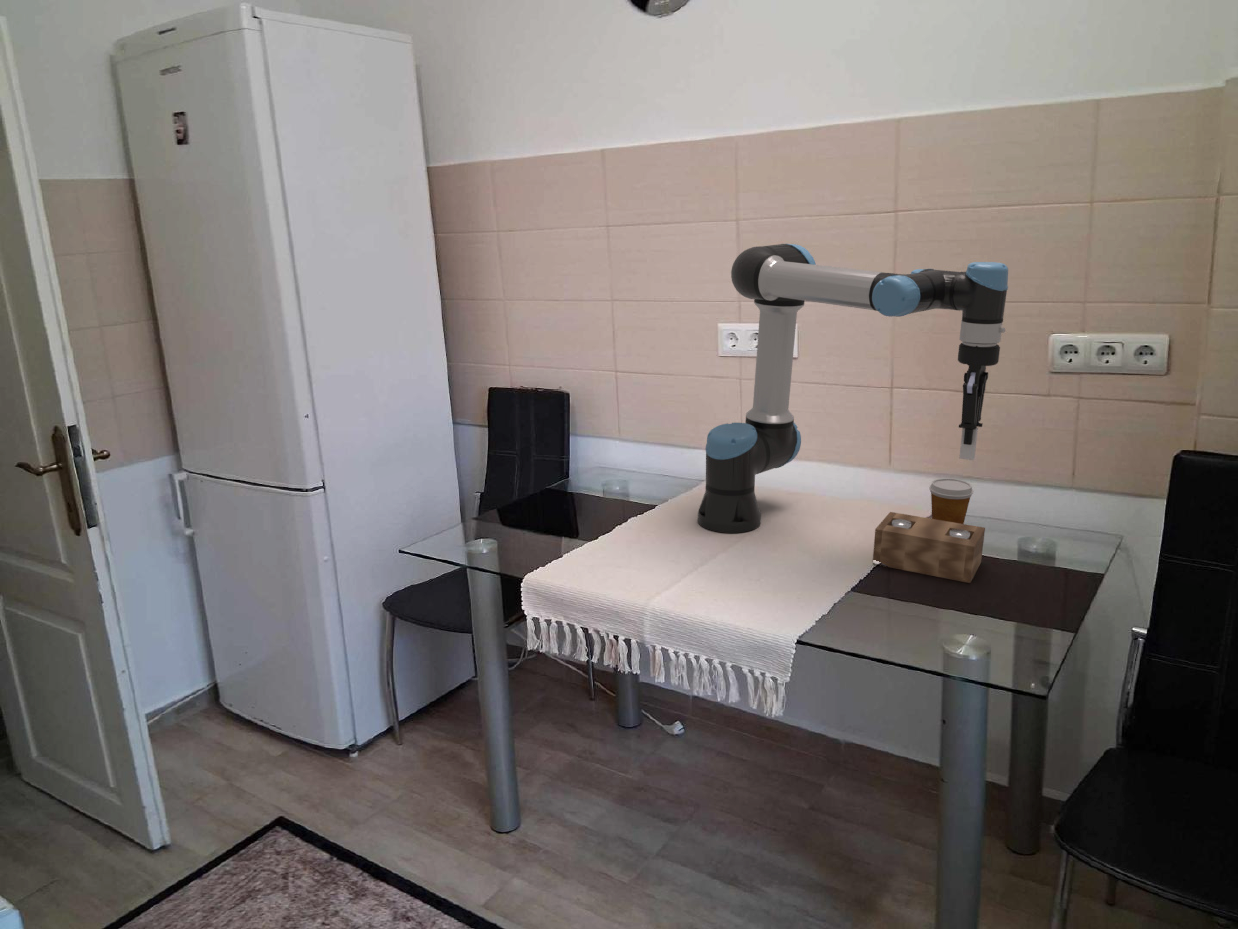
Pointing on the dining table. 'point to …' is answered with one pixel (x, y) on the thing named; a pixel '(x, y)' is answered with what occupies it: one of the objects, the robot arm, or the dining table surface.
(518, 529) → the dining table surface
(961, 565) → the socket block
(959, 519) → the disposable coffee cup
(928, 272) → the robot arm
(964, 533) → the pin
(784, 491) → the dining table surface
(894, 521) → the pin
